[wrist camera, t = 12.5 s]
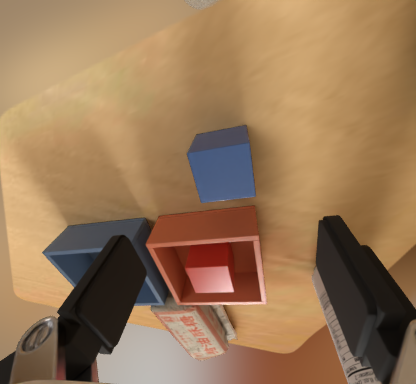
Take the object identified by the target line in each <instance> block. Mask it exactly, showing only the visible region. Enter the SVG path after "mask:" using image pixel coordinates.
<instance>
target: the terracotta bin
mask: <svg viewBox="0 0 416 384" xmlns="http://www.w3.org/2000/svg"><path fill="white" fill-rule="evenodd" d="M222 242H231V246H232V251H233V255H234V292H216V293H195V290H194V288H193V286H192V283H191V281H190V279H189V276H188V274H187V272H186V269H185V266H186V262H187V258H188V254H189V249H190V245H196V244H209V243H222ZM146 246H147V248H148V250H149V252H150V254H151V256H152V258H153V259H154V261H155V263H156V265H157V267H158V269H159V271H160V273H161V274H162V276H163V278H164V280H165V282H166V284H167V286H168V288H169V290H170V291H171V293H172V295H173V297H174V299H175V301H176V302H177V305H236V304H267V298H266V290H265V281H264V273H263V265H262V257H261V249H260V241H259V233H258V226H257V219H256V212H255V206H246V207H237V208H228V209H219V210H210V211H200V212H191V213H182V214H173V215H164V216H159V217H158V219H157V221H156V224H155V226H154V228H153V230H152V232H151V234H150V236H149V238H148V240H147V242H146Z"/></svg>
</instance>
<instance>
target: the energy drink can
mask: <svg viewBox="0 0 416 384" xmlns="http://www.w3.org/2000/svg"><path fill="white" fill-rule="evenodd" d="M312 282H313V285H314V288H315V291H316V294H317V296H318V299H319V302H320V305H321V308H322V311H323V313H324V316H325V319H326V322H327V325H328V327H329V330H330V333H331V336H332V339H333V341H334V344H335V347H336V350H337V353H338V356H339V359H340V361H341V364H342V367H343V370H344V373H345V375H346V378H347V381H348V384H380V381H378V380H377V379H376V377H375V374H374V372H373V370H372V368H371V367H362V366H361V363H360V361H359V359H358V357H354V356H353V355H352V354H351V352H350V350H349V347H348V345H347V342H346V340H345V337H344V335H343V332H342V330H341V327H340V325H339V322H338V320H337V317H336V315H335V312H334V310H333V307H332V305H331V302H330V300H329V297H328V295H327V292H326V290H325V287H324V285H323V282H322V280H321V277H320V275H319V272H318V270H317V266H316V267H315V269H314V273H313V275H312Z"/></svg>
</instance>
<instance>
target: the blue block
mask: <svg viewBox="0 0 416 384" xmlns="http://www.w3.org/2000/svg"><path fill="white" fill-rule="evenodd" d="M187 156H188V159H189V163H190V166H191V170H192V173H193V177H194V180H195V183H196V187H197V190H198V194H199V197H200V201H201V203H206V202H215V201H223V200H232V199H240V198H248V197H256V192H255V184H254V175H253V167H252V158H251V149H250V142H249V136H248V131H247V126H246V125H243V126H238V127H233V128H228V129H222V130H217V131H212V132H207V133H202V134H197V135H196V136H195V138H194V140H193V142H192V144H191V146H190V148H189V150H188V152H187Z"/></svg>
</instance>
